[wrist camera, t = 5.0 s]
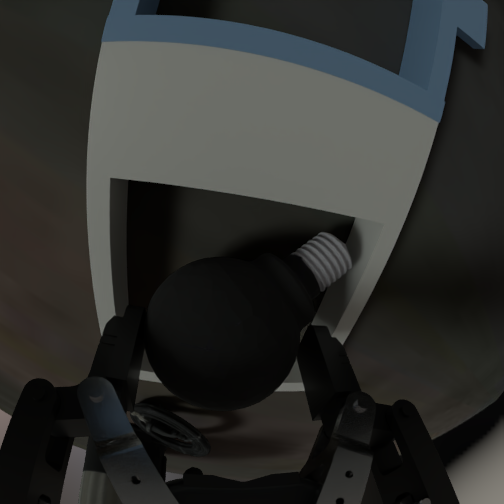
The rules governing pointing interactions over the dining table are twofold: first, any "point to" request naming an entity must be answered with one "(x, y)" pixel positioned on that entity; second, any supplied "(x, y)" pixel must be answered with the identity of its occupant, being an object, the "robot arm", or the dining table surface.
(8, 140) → the dining table surface
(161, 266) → the dining table surface
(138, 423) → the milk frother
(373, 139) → the two-tone divided frame
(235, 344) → the light bulb
